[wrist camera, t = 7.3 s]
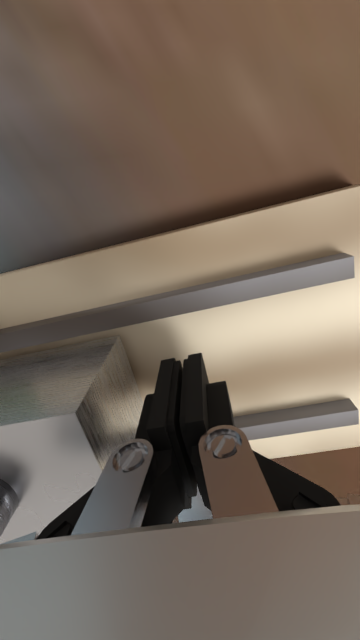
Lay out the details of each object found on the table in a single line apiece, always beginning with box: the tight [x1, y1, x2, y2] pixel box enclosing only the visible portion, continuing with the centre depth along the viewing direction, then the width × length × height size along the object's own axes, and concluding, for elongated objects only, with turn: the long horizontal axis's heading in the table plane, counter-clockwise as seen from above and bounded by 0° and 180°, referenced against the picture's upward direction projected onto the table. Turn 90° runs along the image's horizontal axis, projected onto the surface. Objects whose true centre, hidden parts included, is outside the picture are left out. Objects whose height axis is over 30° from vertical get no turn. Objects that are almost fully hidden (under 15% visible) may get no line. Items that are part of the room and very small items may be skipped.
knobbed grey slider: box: [0, 335, 144, 544], centre depth 11 cm, size 7×8×6 cm
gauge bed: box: [0, 184, 360, 459], centre depth 12 cm, size 12×26×7 cm, turn 104°
